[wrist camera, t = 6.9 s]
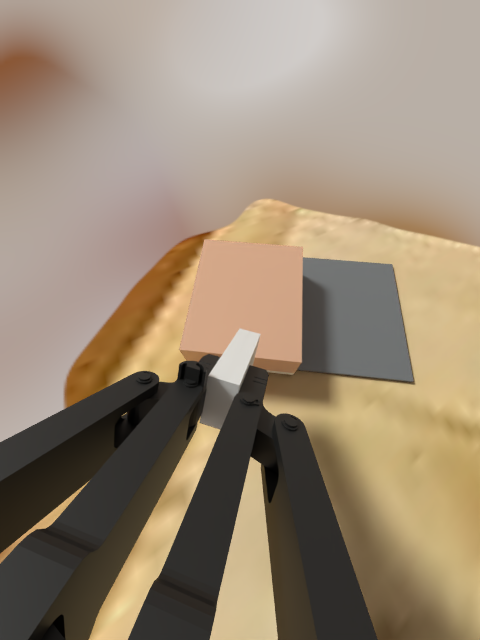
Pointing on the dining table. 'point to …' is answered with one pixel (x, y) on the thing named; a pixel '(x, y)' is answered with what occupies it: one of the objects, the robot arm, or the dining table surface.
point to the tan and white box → (247, 303)
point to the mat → (352, 320)
